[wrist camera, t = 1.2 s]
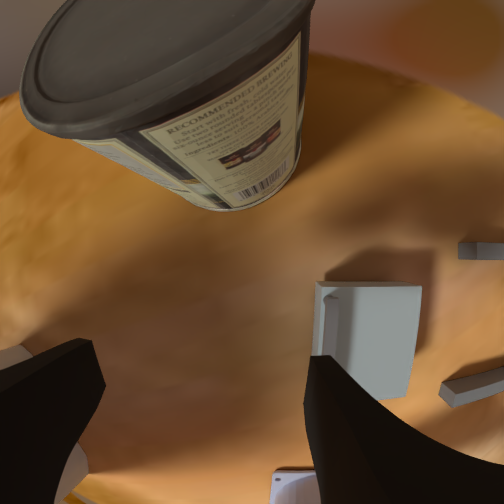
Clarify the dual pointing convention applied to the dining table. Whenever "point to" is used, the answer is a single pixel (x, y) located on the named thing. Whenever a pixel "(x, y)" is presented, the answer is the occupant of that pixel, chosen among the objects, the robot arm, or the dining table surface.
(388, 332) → the box with handle
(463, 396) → the bay
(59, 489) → the tall upright grey box
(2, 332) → the dining table surface
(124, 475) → the dining table surface
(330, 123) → the dining table surface
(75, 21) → the coffee can
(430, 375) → the dining table surface
